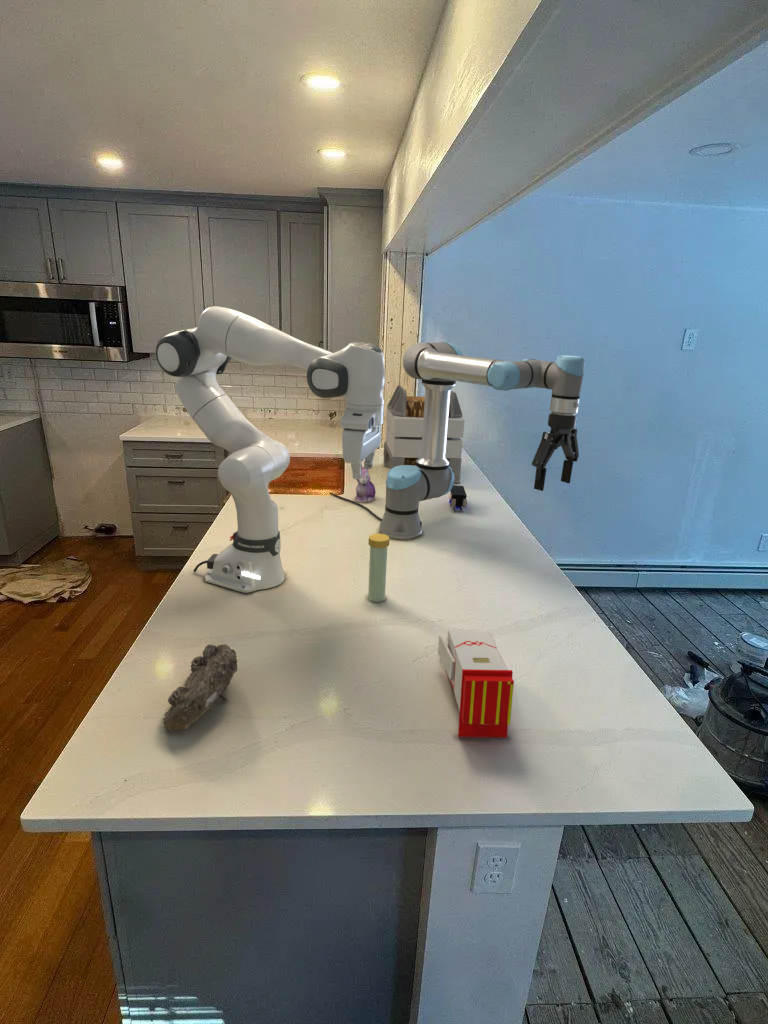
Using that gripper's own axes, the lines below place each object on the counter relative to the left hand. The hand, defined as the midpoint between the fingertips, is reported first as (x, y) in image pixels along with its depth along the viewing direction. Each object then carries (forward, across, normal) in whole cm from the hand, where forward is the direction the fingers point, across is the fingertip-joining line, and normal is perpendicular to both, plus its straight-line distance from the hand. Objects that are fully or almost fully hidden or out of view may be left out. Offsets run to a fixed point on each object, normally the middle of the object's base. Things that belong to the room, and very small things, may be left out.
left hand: (362, 473), depth 136 cm
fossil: (+37, +43, -19) cm, 60 cm away
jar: (+37, -8, +2) cm, 38 cm away
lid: (+20, -8, +3) cm, 22 cm away
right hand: (+10, -40, +46) cm, 62 cm away
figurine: (+37, -87, -24) cm, 98 cm away
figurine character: (+37, -92, +14) cm, 100 cm away
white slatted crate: (+37, -136, -10) cm, 141 cm away
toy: (+38, +25, +32) cm, 55 cm away
